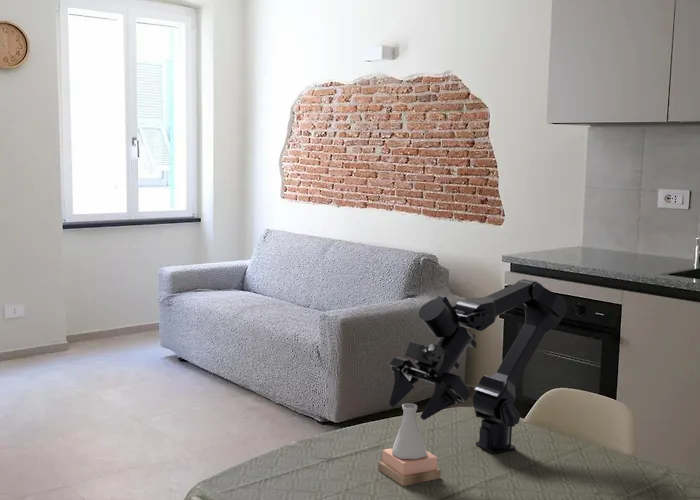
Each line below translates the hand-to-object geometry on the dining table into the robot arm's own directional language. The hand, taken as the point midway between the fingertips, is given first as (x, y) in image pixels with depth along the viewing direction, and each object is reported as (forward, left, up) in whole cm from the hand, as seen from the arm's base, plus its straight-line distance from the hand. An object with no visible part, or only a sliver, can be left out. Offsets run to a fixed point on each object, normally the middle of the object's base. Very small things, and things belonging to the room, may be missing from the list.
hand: (405, 412), depth 161 cm
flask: (-1, 0, -9) cm, 9 cm away
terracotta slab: (-2, 0, -11) cm, 12 cm away
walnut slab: (-1, 0, -14) cm, 14 cm away
